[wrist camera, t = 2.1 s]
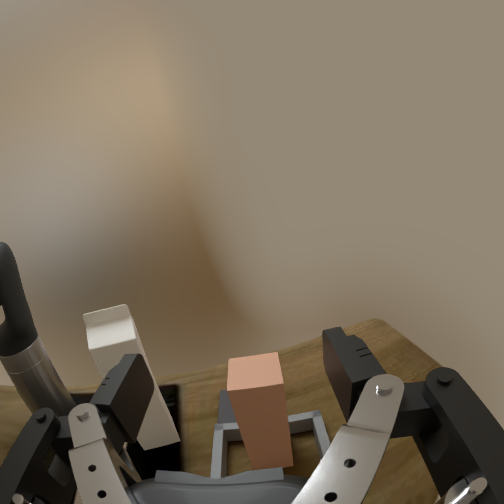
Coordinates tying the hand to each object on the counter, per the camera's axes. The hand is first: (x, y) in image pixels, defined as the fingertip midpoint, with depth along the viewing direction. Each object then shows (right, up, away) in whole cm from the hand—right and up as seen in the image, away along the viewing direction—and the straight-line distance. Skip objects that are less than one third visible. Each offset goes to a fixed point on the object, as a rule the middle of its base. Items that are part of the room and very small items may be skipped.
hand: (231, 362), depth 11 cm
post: (+4, -22, +17) cm, 28 cm away
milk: (-13, -23, +22) cm, 35 cm away
